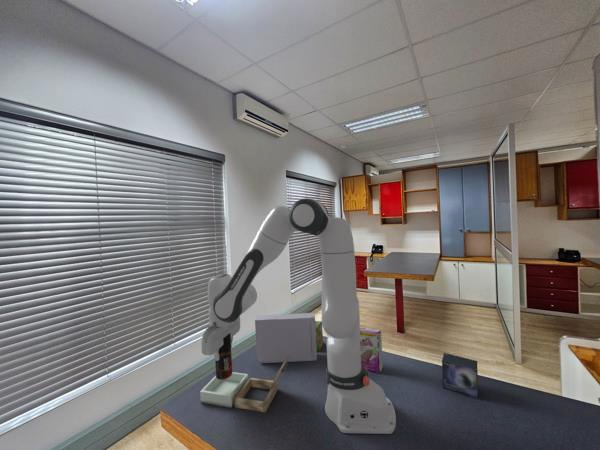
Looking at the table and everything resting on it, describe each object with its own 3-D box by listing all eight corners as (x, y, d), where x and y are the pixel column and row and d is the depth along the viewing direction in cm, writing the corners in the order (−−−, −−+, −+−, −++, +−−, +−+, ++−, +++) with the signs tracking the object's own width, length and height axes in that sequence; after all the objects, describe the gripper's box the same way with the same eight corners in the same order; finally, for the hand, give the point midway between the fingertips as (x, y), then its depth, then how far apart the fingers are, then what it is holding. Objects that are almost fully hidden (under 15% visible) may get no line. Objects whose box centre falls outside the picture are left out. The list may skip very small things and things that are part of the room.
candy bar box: (353, 367, 105) (351, 329, 104) (357, 361, 109) (355, 324, 109) (380, 374, 99) (378, 334, 98) (383, 368, 103) (381, 329, 103)
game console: (317, 361, 110) (315, 317, 110) (257, 364, 111) (254, 320, 110) (316, 354, 116) (314, 312, 116) (259, 356, 117) (257, 315, 116)
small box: (442, 388, 89) (441, 360, 89) (444, 378, 94) (443, 351, 94) (478, 400, 83) (477, 369, 82) (478, 389, 88) (477, 360, 88)
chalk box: (319, 352, 118) (317, 321, 117) (301, 350, 121) (299, 320, 120) (323, 343, 126) (322, 314, 126) (306, 341, 129) (305, 313, 129)
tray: (248, 384, 97) (248, 374, 97) (231, 407, 85) (231, 396, 85) (221, 380, 101) (220, 370, 100) (200, 402, 88) (200, 391, 88)
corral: (277, 389, 93) (277, 381, 93) (265, 412, 82) (265, 403, 82) (250, 385, 96) (249, 377, 96) (234, 407, 85) (234, 398, 85)
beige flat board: (277, 380, 93) (280, 382, 93) (265, 402, 82) (268, 405, 82) (288, 354, 92) (291, 356, 91) (277, 373, 81) (280, 375, 80)
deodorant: (223, 381, 89) (221, 340, 88) (212, 376, 92) (210, 336, 92) (235, 372, 94) (233, 333, 93) (225, 368, 97) (223, 330, 97)
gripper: (211, 330, 81) (214, 371, 82) (242, 308, 101) (244, 341, 101) (195, 329, 83) (197, 369, 83) (228, 307, 103) (230, 340, 103)
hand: (223, 354), depth 93 cm, fingers closed on deodorant, 6 cm apart
